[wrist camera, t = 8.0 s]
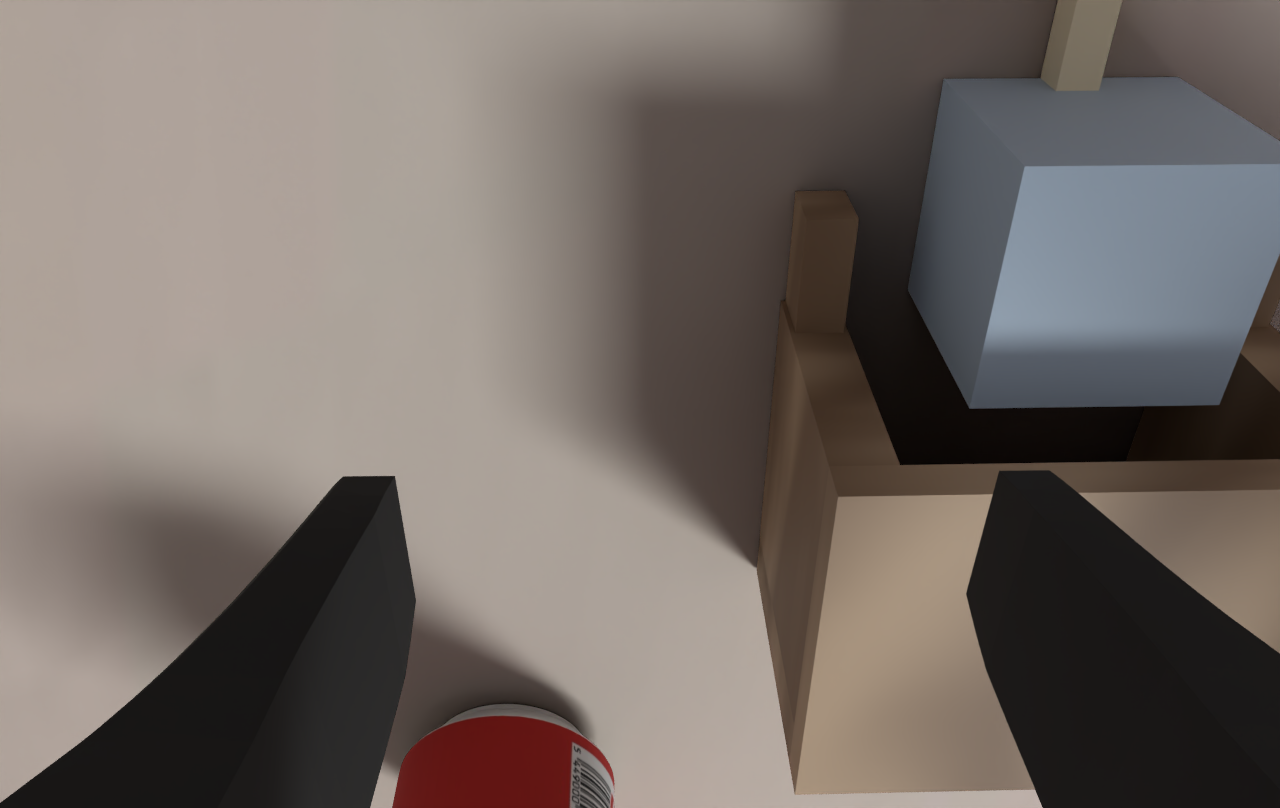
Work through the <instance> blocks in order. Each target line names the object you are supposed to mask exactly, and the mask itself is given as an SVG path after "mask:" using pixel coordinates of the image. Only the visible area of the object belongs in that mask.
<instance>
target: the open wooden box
mask: <svg viewBox="0 0 1280 808" xmlns="http://www.w3.org/2000/svg"><path fill="white" fill-rule="evenodd" d="M858 223H859V218H858V216H857V214H856V212H855V210H854V208H853V206H852V204H851V202H850V200H849V198H848V196H847V194H846V192H845V191H795V202H794V213H793V224H792V235H791V246H790V256H789V267H788V278H787V289H786V300H781V304H780V315H779V326H778V338H777V349H776V360H775V371H774V382H773V393H772V405H771V416H770V427H769V438H768V449H767V461H766V472H765V483H764V494H763V505H762V516H761V528H760V539H759V550H758V561H757V575H758V581H759V587H760V593H761V598H762V604H763V610H764V616H765V622H766V628H767V634H768V639H769V645H770V651H771V657H772V663H773V669H774V675H775V681H776V686H777V692H778V698H779V704H780V710H781V716H782V722H783V727H784V733H785V739H786V745H787V751H788V757H789V763H790V769H791V774H792V780H793V786H794V792H795V795H800V794H846V793H892V792H939V791H985V790H1031V789H1035V788H1034V785H1033V783H1032V781H1031V778H1030V776H1029V773H1028V771H1027V769H1026V766H1025V764H1024V761H1023V759H1022V757H1021V754H1020V752H1019V750H1018V747H1017V745H1016V742H1015V740H1014V738H1013V735H1012V733H1011V730H1010V728H1009V726H1008V723H1007V721H1006V718H1005V716H1004V713H1003V711H1002V708H1001V706H1000V703H999V701H998V699H997V696H996V694H995V691H994V689H993V686H992V684H991V681H990V679H989V676H988V674H987V671H986V668H985V664H984V661H983V657H982V654H981V650H980V647H979V643H978V639H977V636H976V632H975V628H974V624H973V620H972V616H971V612H970V608H969V604H968V600H967V596H966V592H967V588H968V584H969V581H970V577H971V573H972V569H973V566H974V562H975V558H976V555H977V551H978V547H979V543H980V540H981V536H982V532H983V529H984V525H985V521H986V517H987V514H988V510H989V506H990V503H991V499H992V495H993V491H994V488H995V484H996V480H997V477H998V473H999V471H1020V470H1050V471H1051V472H1053V473H1054V474H1055V475H1057V476H1058V477H1059V478H1060V479H1062V480H1063V481H1064V482H1065V483H1067V484H1068V485H1069V486H1070V487H1072V488H1073V489H1074V490H1075V491H1076V492H1078V493H1079V494H1080V495H1081V496H1083V497H1084V498H1085V499H1086V500H1087V501H1088V502H1090V503H1091V504H1092V505H1093V506H1094V507H1096V508H1097V509H1098V510H1099V511H1100V512H1102V513H1103V514H1104V515H1105V516H1106V517H1107V518H1109V519H1110V520H1111V521H1112V522H1113V523H1115V524H1116V525H1117V526H1118V527H1119V528H1120V529H1122V530H1123V531H1124V532H1125V533H1126V534H1128V535H1129V536H1130V537H1131V538H1132V539H1134V540H1135V541H1136V542H1137V543H1138V544H1139V545H1141V546H1142V547H1143V548H1144V549H1146V550H1147V551H1148V552H1149V553H1150V554H1152V555H1153V556H1154V557H1155V558H1156V559H1158V560H1159V561H1160V562H1161V563H1162V564H1164V565H1165V566H1166V567H1167V568H1169V569H1170V570H1171V571H1172V572H1173V573H1175V574H1176V575H1177V576H1178V577H1180V578H1181V579H1182V580H1183V581H1185V582H1186V583H1187V584H1188V585H1190V586H1191V587H1192V588H1193V589H1195V590H1196V591H1197V592H1198V593H1200V594H1201V595H1202V596H1204V597H1205V598H1206V599H1207V600H1209V601H1210V602H1211V603H1213V604H1214V605H1215V606H1216V607H1218V608H1219V609H1220V610H1222V611H1223V612H1224V613H1226V614H1227V615H1228V616H1229V617H1231V618H1232V619H1234V620H1235V621H1236V622H1238V623H1239V624H1240V625H1242V626H1243V627H1244V628H1246V629H1247V630H1249V631H1250V632H1251V633H1253V634H1254V635H1255V636H1257V637H1258V638H1259V639H1261V640H1262V641H1264V642H1265V643H1266V644H1268V645H1269V646H1270V647H1272V648H1273V649H1274V650H1276V651H1277V652H1279V653H1280V333H1279V332H1278V331H1277V330H1276V329H1275V328H1274V327H1273V326H1272V325H1271V324H1270V322H1271V320H1272V317H1273V315H1274V312H1275V310H1276V308H1277V305H1278V303H1279V300H1280V254H1279V257H1278V259H1277V262H1276V264H1275V267H1274V269H1273V272H1272V274H1271V277H1270V279H1269V282H1268V284H1267V287H1266V289H1265V292H1264V294H1263V297H1262V299H1261V302H1260V304H1259V307H1258V309H1257V312H1256V314H1255V317H1254V319H1253V322H1252V324H1251V327H1250V329H1249V332H1248V334H1247V337H1246V339H1245V342H1244V344H1243V347H1242V349H1241V352H1240V354H1239V357H1238V359H1237V362H1236V364H1235V367H1234V369H1233V372H1232V374H1231V377H1230V379H1229V382H1228V384H1227V387H1226V389H1225V392H1224V394H1223V397H1222V399H1221V402H1220V404H1219V405H1188V406H1145V408H1144V410H1143V413H1142V416H1141V419H1140V422H1139V425H1138V428H1137V430H1136V433H1135V436H1134V439H1133V442H1132V445H1131V448H1130V451H1129V453H1128V456H1127V459H1126V462H1069V463H1005V464H940V465H900V463H899V461H898V458H897V456H896V453H895V451H894V448H893V445H892V443H891V440H890V438H889V435H888V432H887V430H886V427H885V425H884V422H883V420H882V417H881V414H880V412H879V409H878V407H877V404H876V401H875V399H874V396H873V394H872V391H871V389H870V386H869V383H868V381H867V378H866V376H865V373H864V370H863V368H862V365H861V363H860V360H859V358H858V355H857V352H856V350H855V347H854V345H853V342H852V340H851V337H850V334H849V332H848V329H847V327H846V324H845V321H846V313H847V306H848V298H849V291H850V283H851V276H852V268H853V261H854V253H855V246H856V238H857V231H858Z"/></svg>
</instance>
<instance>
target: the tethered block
mask: <svg viewBox="0 0 1280 808" xmlns="http://www.w3.org/2000/svg"><path fill="white" fill-rule="evenodd" d="M1121 4H1122V0H1058V2H1057V6H1056V11H1055V15H1054V20H1053V24H1052V28H1051V33H1050V37H1049V42H1048V46H1047V51H1046V55H1045V60H1044V64H1043V68H1042V73H1041V77H1040V78H990V79H944V80H943V86H942V92H941V97H940V103H939V109H938V115H937V121H936V127H935V133H934V138H933V144H932V150H931V156H930V162H929V168H928V173H927V179H926V185H925V191H924V197H923V203H922V209H921V214H920V220H919V226H918V232H917V238H916V244H915V250H914V255H913V261H912V267H911V273H910V279H909V285H908V291H909V293H910V295H911V297H912V299H913V301H914V303H915V305H916V306H917V308H918V310H919V312H920V314H921V316H922V318H923V320H924V322H925V324H926V326H927V328H928V330H929V331H930V333H931V335H932V337H933V339H934V341H935V343H936V345H937V347H938V349H939V351H940V353H941V355H942V357H943V358H944V360H945V362H946V364H947V366H948V368H949V370H950V372H951V374H952V376H953V378H954V380H955V382H956V383H957V385H958V387H959V389H960V391H961V393H962V395H963V397H964V399H965V401H966V403H967V405H968V407H969V408H970V409H976V408H1047V407H1118V406H1188V405H1219V404H1220V402H1221V399H1222V397H1223V394H1224V392H1225V389H1226V387H1227V384H1228V382H1229V379H1230V377H1231V374H1232V372H1233V369H1234V367H1235V364H1236V362H1237V359H1238V357H1239V354H1240V352H1241V349H1242V347H1243V344H1244V342H1245V339H1246V337H1247V334H1248V332H1249V329H1250V327H1251V324H1252V322H1253V319H1254V317H1255V314H1256V312H1257V309H1258V307H1259V304H1260V302H1261V299H1262V297H1263V294H1264V292H1265V289H1266V287H1267V284H1268V282H1269V279H1270V277H1271V274H1272V272H1273V269H1274V267H1275V264H1276V262H1277V259H1278V257H1279V254H1280V141H1279V140H1277V139H1276V138H1274V137H1273V136H1271V135H1269V134H1268V133H1266V132H1265V131H1263V130H1262V129H1260V128H1258V127H1257V126H1255V125H1254V124H1252V123H1250V122H1249V121H1247V120H1246V119H1244V118H1242V117H1241V116H1239V115H1238V114H1236V113H1235V112H1233V111H1231V110H1230V109H1228V108H1227V107H1225V106H1223V105H1222V104H1220V103H1219V102H1217V101H1215V100H1214V99H1212V98H1211V97H1209V96H1208V95H1206V94H1204V93H1203V92H1201V91H1200V90H1198V89H1196V88H1195V87H1193V86H1192V85H1190V84H1188V83H1187V82H1185V81H1184V80H1182V79H1181V78H1179V77H1116V78H1102V77H1103V73H1104V69H1105V66H1106V62H1107V58H1108V54H1109V50H1110V46H1111V42H1112V39H1113V35H1114V31H1115V27H1116V23H1117V19H1118V16H1119V12H1120V8H1121Z"/></svg>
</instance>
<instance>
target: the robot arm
mask: <svg viewBox="0 0 1280 808" xmlns="http://www.w3.org/2000/svg"><path fill="white" fill-rule="evenodd" d="M966 596H967V600H968V604H969V608H970V612H971V616H972V620H973V624H974V628H975V632H976V636H977V639H978V643H979V647H980V650H981V654H982V657H983V661H984V664H985V668H986V671H987V674H988V676H989V679H990V681H991V684H992V686H993V689H994V691H995V694H996V696H997V699H998V701H999V703H1000V706H1001V708H1002V711H1003V713H1004V716H1005V718H1006V721H1007V723H1008V726H1009V728H1010V730H1011V733H1012V735H1013V738H1014V740H1015V742H1016V745H1017V747H1018V750H1019V752H1020V754H1021V757H1022V759H1023V761H1024V764H1025V766H1026V769H1027V771H1028V773H1029V776H1030V778H1031V781H1032V783H1033V785H1034V788H1035V790H1036V793H1037V795H1038V797H1039V800H1040V802H1041V805H1042V807H1043V808H1280V653H1279V652H1277V651H1276V650H1274V649H1273V648H1272V647H1270V646H1269V645H1268V644H1266V643H1265V642H1264V641H1262V640H1261V639H1259V638H1258V637H1257V636H1255V635H1254V634H1253V633H1251V632H1250V631H1249V630H1247V629H1246V628H1244V627H1243V626H1242V625H1240V624H1239V623H1238V622H1236V621H1235V620H1234V619H1232V618H1231V617H1229V616H1228V615H1227V614H1226V613H1224V612H1223V611H1222V610H1220V609H1219V608H1218V607H1216V606H1215V605H1214V604H1213V603H1211V602H1210V601H1209V600H1207V599H1206V598H1205V597H1204V596H1202V595H1201V594H1200V593H1198V592H1197V591H1196V590H1195V589H1193V588H1192V587H1191V586H1190V585H1188V584H1187V583H1186V582H1185V581H1183V580H1182V579H1181V578H1180V577H1178V576H1177V575H1176V574H1175V573H1173V572H1172V571H1171V570H1170V569H1169V568H1167V567H1166V566H1165V565H1164V564H1162V563H1161V562H1160V561H1159V560H1158V559H1156V558H1155V557H1154V556H1153V555H1152V554H1150V553H1149V552H1148V551H1147V550H1146V549H1144V548H1143V547H1142V546H1141V545H1139V544H1138V543H1137V542H1136V541H1135V540H1134V539H1132V538H1131V537H1130V536H1129V535H1128V534H1126V533H1125V532H1124V531H1123V530H1122V529H1120V528H1119V527H1118V526H1117V525H1116V524H1115V523H1113V522H1112V521H1111V520H1110V519H1109V518H1107V517H1106V516H1105V515H1104V514H1103V513H1102V512H1100V511H1099V510H1098V509H1097V508H1096V507H1094V506H1093V505H1092V504H1091V503H1090V502H1088V501H1087V500H1086V499H1085V498H1084V497H1083V496H1081V495H1080V494H1079V493H1078V492H1076V491H1075V490H1074V489H1073V488H1072V487H1070V486H1069V485H1068V484H1067V483H1065V482H1064V481H1063V480H1062V479H1060V478H1059V477H1058V476H1057V475H1055V474H1054V473H1053V472H1051V471H1050V470H1020V471H999V473H998V477H997V480H996V484H995V488H994V491H993V495H992V499H991V503H990V506H989V510H988V514H987V517H986V521H985V525H984V529H983V532H982V536H981V540H980V543H979V547H978V551H977V555H976V558H975V562H974V566H973V569H972V573H971V577H970V581H969V584H968V588H967V592H966ZM415 603H416V598H415V592H414V586H413V581H412V575H411V569H410V563H409V557H408V551H407V545H406V539H405V533H404V528H403V522H402V516H401V510H400V504H399V498H398V492H397V486H396V480H395V476H352V477H342V478H341V479H340V480H339V481H338V482H337V483H336V484H335V485H334V486H333V487H332V488H331V490H330V491H329V492H328V493H327V494H326V496H325V497H324V498H323V499H322V500H321V502H320V503H319V504H318V505H317V506H316V508H315V509H314V510H313V511H312V512H311V513H310V515H309V516H308V517H307V518H306V519H305V521H304V522H303V523H302V524H301V525H300V527H299V528H298V529H297V530H296V531H295V532H294V534H293V535H292V536H291V537H290V538H289V539H288V541H287V542H286V543H285V544H284V545H283V546H282V548H281V549H280V550H279V551H278V552H277V553H276V555H275V556H274V557H273V558H272V559H271V560H270V561H269V562H268V563H267V565H266V566H265V567H264V568H263V569H262V570H261V571H260V572H259V573H258V575H257V576H256V577H255V578H254V579H253V580H252V581H251V582H250V583H249V584H248V586H247V587H246V588H245V589H244V590H243V591H242V592H241V593H240V594H239V595H238V597H237V598H236V599H235V600H234V601H233V602H232V603H231V604H230V605H229V606H228V607H227V608H226V609H225V610H224V611H223V613H222V614H221V615H220V616H219V617H218V618H217V619H216V620H215V621H214V622H213V623H212V624H211V625H210V626H209V627H208V628H207V629H206V630H205V631H204V632H203V633H202V634H201V635H200V636H199V637H198V638H197V639H196V640H195V641H194V642H193V643H192V644H191V645H190V646H189V647H188V648H187V649H186V650H185V651H184V652H183V653H182V654H181V655H180V656H179V657H178V658H177V659H176V660H174V661H173V662H172V663H171V664H170V665H169V666H168V667H167V668H166V669H165V670H164V671H163V672H162V673H161V674H160V675H158V676H157V677H156V678H155V679H154V680H153V681H152V682H151V683H150V684H149V685H148V686H146V687H145V688H144V689H143V690H142V691H141V692H140V693H139V694H138V695H136V696H135V697H134V698H133V699H132V700H131V701H130V702H128V703H127V704H126V705H125V706H124V707H123V708H121V709H120V710H119V711H118V712H117V713H116V714H114V715H113V716H112V717H111V718H110V719H109V720H107V721H106V722H105V723H104V724H103V725H102V726H100V727H99V728H98V729H97V730H96V731H94V732H93V733H92V734H91V735H89V736H88V737H87V738H86V739H84V740H83V741H82V742H81V743H79V744H78V745H77V746H75V747H74V748H73V749H71V750H70V751H69V752H67V753H66V754H65V755H63V756H62V757H61V758H59V759H58V760H57V761H55V762H54V763H53V764H51V765H50V766H49V767H47V768H46V769H45V770H43V771H42V772H41V773H39V774H38V775H37V776H35V777H34V778H33V779H31V780H30V781H29V782H27V783H26V784H25V785H23V786H22V787H21V788H20V789H18V790H17V791H16V792H14V793H13V794H12V795H10V796H9V797H8V798H6V799H5V800H4V801H2V802H1V803H0V808H370V806H371V802H372V798H373V795H374V791H375V787H376V784H377V780H378V776H379V773H380V769H381V765H382V762H383V758H384V754H385V751H386V747H387V743H388V740H389V736H390V732H391V728H392V725H393V721H394V717H395V713H396V710H397V706H398V702H399V698H400V695H401V691H402V687H403V683H404V679H405V674H406V667H407V660H408V654H409V647H410V640H411V633H412V625H413V618H414V610H415Z"/></svg>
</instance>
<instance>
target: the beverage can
mask: <svg viewBox="0 0 1280 808" xmlns="http://www.w3.org/2000/svg"><path fill="white" fill-rule="evenodd" d="M392 808H614V777H613V772H612V769H611V767H610V764H609V763H608V761H607V759H606V758H605V756H604V755H603V753H602V752H601V751H600V750H599V748H597V747H596V746H595V745H594V744H593V743H592V742H591V741H590V740H588V739H587V738H586V737H584V736H583V735H582V734H581V733H580V732H579V731H578V730H577V729H576V728H575V727H574V726H573V725H572V724H571V723H570V722H568V721H567V720H565V719H564V718H562V717H560V716H558V715H556V714H554V713H552V712H549V711H547V710H543V709H540V708H537V707H532V706H527V705H519V704H494V705H487V706H482V707H477V708H474V709H471V710H468V711H465V712H463V713H461V714H458V715H457V716H455V717H453V718H452V719H450V720H449V721H447V722H446V723H445V724H444V725H443V726H441V727H439V728H437V729H435V730H433V731H432V732H430V733H428V734H427V735H425V736H424V737H423V738H422V739H420V740H419V741H418V742H417V743H416V744H415V745H414V746H413V747H412V748H411V749H410V751H409V752H408V753H407V755H406V756H405V758H404V760H403V762H402V765H401V768H400V772H399V777H398V782H397V787H396V792H395V797H394V802H393V807H392Z"/></svg>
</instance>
